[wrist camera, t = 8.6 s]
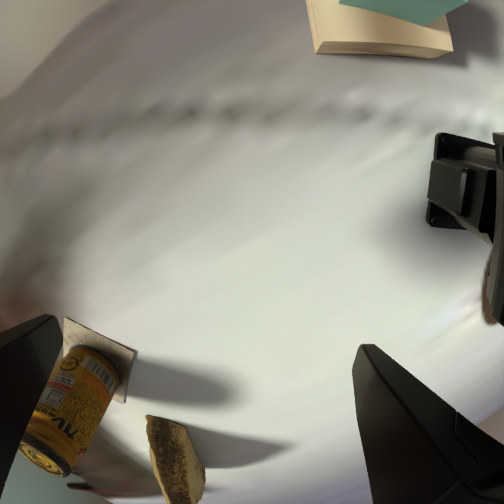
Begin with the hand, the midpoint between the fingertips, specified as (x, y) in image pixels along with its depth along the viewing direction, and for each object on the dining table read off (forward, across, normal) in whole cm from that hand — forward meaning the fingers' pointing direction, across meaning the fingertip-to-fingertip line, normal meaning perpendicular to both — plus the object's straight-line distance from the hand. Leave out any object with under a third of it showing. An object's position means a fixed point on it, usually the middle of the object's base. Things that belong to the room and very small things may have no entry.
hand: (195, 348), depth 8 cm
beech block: (+14, -8, -15) cm, 22 cm away
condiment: (+14, +14, +15) cm, 24 cm away
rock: (+14, +6, +27) cm, 31 cm away
